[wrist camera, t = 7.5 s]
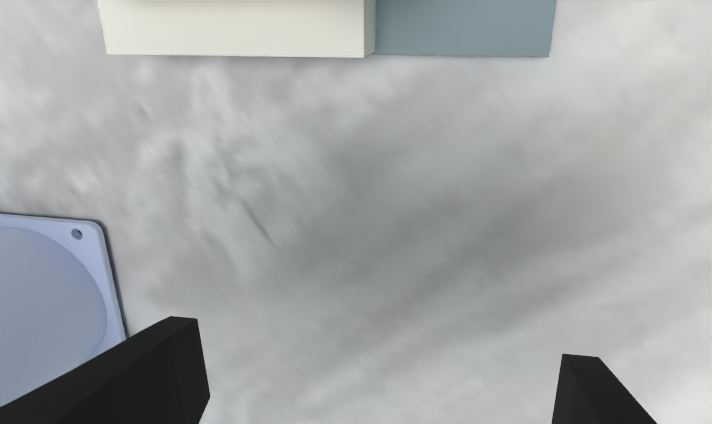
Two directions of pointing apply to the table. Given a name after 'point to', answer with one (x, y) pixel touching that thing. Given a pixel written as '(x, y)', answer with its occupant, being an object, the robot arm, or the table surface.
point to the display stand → (328, 27)
